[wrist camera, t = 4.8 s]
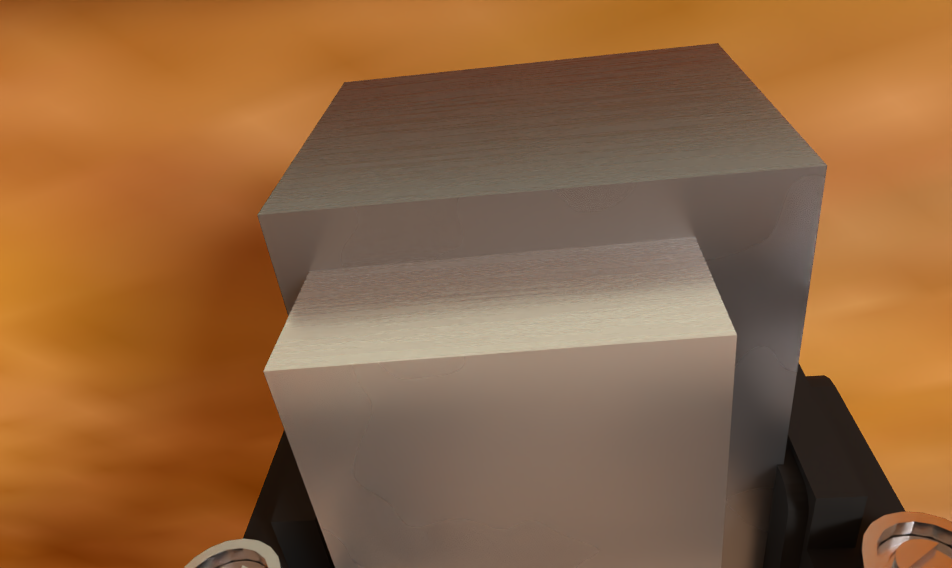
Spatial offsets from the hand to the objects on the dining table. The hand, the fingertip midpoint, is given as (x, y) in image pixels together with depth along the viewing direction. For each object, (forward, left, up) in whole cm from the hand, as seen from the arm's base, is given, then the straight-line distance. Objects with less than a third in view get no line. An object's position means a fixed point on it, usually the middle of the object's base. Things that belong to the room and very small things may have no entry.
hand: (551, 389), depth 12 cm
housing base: (0, 0, -1) cm, 1 cm away
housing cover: (0, 0, +3) cm, 3 cm away
